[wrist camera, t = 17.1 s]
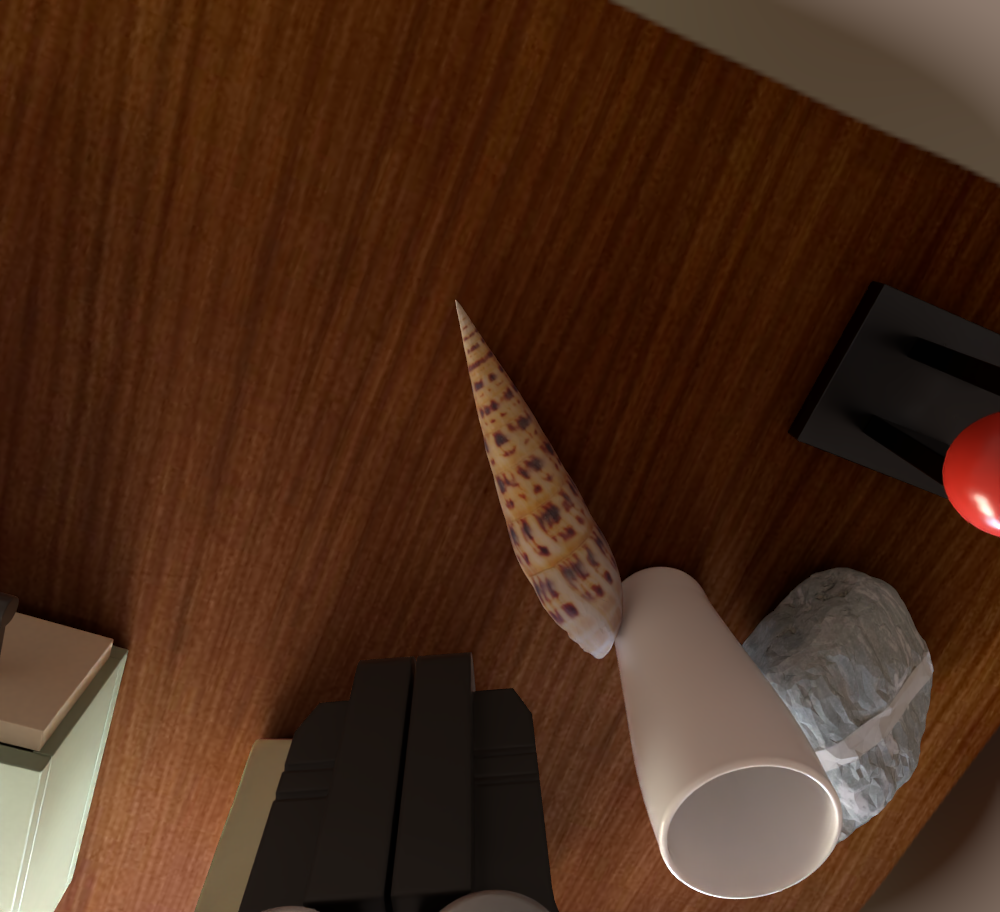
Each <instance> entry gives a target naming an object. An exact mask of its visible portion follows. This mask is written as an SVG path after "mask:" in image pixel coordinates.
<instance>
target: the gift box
mask: <svg viewBox="0 0 1000 912" xmlns="http://www.w3.org/2000/svg"><path fill="white" fill-rule="evenodd" d="M291 742H292V739H258V740H256V741H255V743H254V744H253V746H252V749H251V751H250V754H249V757H248V760H247V763H246V766H245V769H244V772H243V775H242V778H241V781H240V783H239V786H238V789H237V792H236V795H235V798H234V801H233V804H232V807H231V809H230V812H229V815H228V818H227V820H226V823H225V826H224V829H223V831H222V834H221V837H220V840H219V843H218V846H217V849H216V851H215V854H214V857H213V860H212V863H211V866H210V869H209V872H208V874H207V877H206V880H205V883H204V885H203V888H202V891H201V894H200V897H199V900H198V903H197V905H196V908H195V911H194V912H238V911H239V907H240V904H241V901H242V898H243V895H244V892H245V888H246V885H247V882H248V879H249V876H250V873H251V869H252V866H253V863H254V860H255V857H256V853H257V850H258V847H259V844H260V841H261V838H262V834H263V831H264V828H265V825H266V822H267V819H268V815H269V812H270V809H271V806H272V803H273V800H275V799H276V790H277V787H278V784H279V780H280V777H281V774H282V772H284V769H285V766H284V765H285V761H286V758H287V755H288V752H289V749H290V745H291Z"/></svg>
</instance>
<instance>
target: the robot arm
mask: <svg viewBox="0 0 1000 912" xmlns="http://www.w3.org/2000/svg"><path fill="white" fill-rule="evenodd" d="M284 766H285V769H284V772H282V774H281V777H280V780H279V784H278V787H277V790H276V799H275V800H273V803H272V806H271V809H270V812H269V815H268V819H267V822H266V825H265V828H264V831H263V834H262V838H261V841H260V844H259V847H258V850H257V853H256V857H255V860H254V863H253V866H252V869H251V873H250V876H249V879H248V882H247V885H246V888H245V892H244V895H243V898H242V901H241V904H240V907H239V911H238V912H559V911H558V908H557V906H556V903H555V900H554V896H553V891H552V884H551V875H550V866H549V858H548V849H547V840H546V831H545V823H544V814H543V805H542V797H541V788H540V780H539V770H538V762H537V753H536V744H535V735H534V727H533V718H532V713H531V712H530V711H529V709H528V708H527V706H526V705H525V704H524V702H523V701H522V700H521V698H520V697H519V696H518V694H517V693H516V692H515V690H514V689H513V688H509V689H496V690H483V691H476V689H475V678H474V667H473V658H472V652H466V653H453V654H440V655H426V656H418V657H417V662H416V659H415V657H414V656H410V657H397V658H384V659H370V660H360V661H359V662H358V665H357V668H356V673H355V677H354V681H353V686H352V690H351V694H350V699H349V700H348V701H335V702H322V703H319V704H318V705H317V706H316V707H315V709H314V710H313V711H312V712H311V713H310V715H309V716H308V717H307V718H306V719H305V720H304V722H303V723H302V724H301V725H300V726H299V727H298V729H297V730H296V731H295V733H294V736H293V739H292V742H291V745H290V749H289V752H288V755H287V758H286V761H285V765H284Z"/></svg>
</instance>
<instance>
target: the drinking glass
mask: <svg viewBox="0 0 1000 912" xmlns="http://www.w3.org/2000/svg"><path fill="white" fill-rule="evenodd" d="M621 584H622V590H623V616H622V622H621V626H620V629H619V632H618V635H617V637H616V639H615V641H614V644H615V649H616V655H617V661H618V666H619V672H620V678H621V684H622V690H623V697H624V703H625V709H626V715H627V722H628V728H629V734H630V740H631V746H632V752H633V758H634V763H635V768H636V772H637V776H638V781H639V784H640V788H641V792H642V796H643V799H644V803H645V806H646V810H647V813H648V816H649V819H650V822H651V825H652V828H653V831H654V834H655V837H656V840H657V843H658V846H659V849H660V852H661V855H662V857H663V860H664V862H665V863H666V865H667V867H668V868H669V870H670V871H671V872H672V873H673V874H674V875H675V876H676V877H677V878H678V879H679V880H680V881H681V882H682V883H684V884H685V885H687V886H689V887H690V888H692V889H694V890H696V891H699V892H701V893H704V894H707V895H710V896H715V897H720V898H729V899H746V898H755V897H761V896H765V895H769V894H773V893H776V892H779V891H781V890H784V889H786V888H789V887H791V886H793V885H795V884H797V883H798V882H800V881H802V880H803V879H805V878H806V877H808V876H809V875H810V874H812V873H813V872H814V871H815V870H816V869H818V868H819V867H820V866H821V865H822V864H823V863H824V861H825V860H826V859H827V858H828V856H829V855H830V854H831V852H832V851H833V849H834V847H835V845H836V843H837V841H838V839H839V836H840V833H841V829H842V821H843V813H842V806H841V803H840V799H839V797H838V795H837V792H836V791H835V789H834V787H833V785H832V783H831V781H830V779H829V777H828V775H827V773H826V771H825V769H824V767H823V766H822V764H821V762H820V760H819V758H818V756H817V754H816V753H815V751H814V749H813V747H812V745H811V744H810V742H809V740H808V739H807V737H806V735H805V734H804V732H803V730H802V729H801V727H800V726H799V724H798V722H797V721H796V719H795V718H794V716H793V715H792V713H791V711H790V710H789V709H788V707H787V706H786V704H785V703H784V701H783V700H782V699H781V697H780V696H779V695H778V693H777V692H776V690H775V689H774V688H773V686H772V685H771V684H770V682H769V681H768V680H767V678H766V677H765V676H764V674H763V673H762V672H761V670H760V669H759V668H758V666H757V665H756V664H755V663H754V661H753V660H752V659H751V657H750V656H749V655H748V653H747V652H746V651H745V649H744V648H743V647H742V645H741V644H740V643H739V641H738V640H737V639H736V637H735V636H734V635H733V633H732V632H731V630H730V629H729V628H728V626H727V625H726V624H725V622H724V621H723V620H722V618H721V617H720V616H719V614H718V613H717V611H716V610H715V609H714V607H713V606H712V604H711V603H710V601H709V599H708V597H707V596H706V594H705V592H704V591H703V589H702V587H701V586H700V585H699V583H698V582H697V581H696V580H695V579H694V578H692V577H691V576H690V575H688V574H687V573H685V572H683V571H681V570H678V569H675V568H670V567H651V568H647V569H643V570H640V571H638V572H636V573H634V574H632V575H631V576H629V577H628V578H626V579H625V580H624V581H623V582H622V583H621Z"/></svg>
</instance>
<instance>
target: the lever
mask: <svg viewBox="0 0 1000 912" xmlns="http://www.w3.org/2000/svg"><path fill="white" fill-rule="evenodd" d="M942 476H943V484H944V489H945V492H946V494H947V497H948V499H949V501H950V502H951V504H952V506H953V507H954V508H955V510H956V511H957V512H958V513H959V514H960V516H962V517H963V518H964V519H965V520H966V521H967V522H969V523H970V524H972V525H973V526H975V527H976V528H978V529H980V530H982V531H984V532H986V533H989V534H992V535H994V536H997V537H1000V411H999V412H996V413H992V414H989V415H986V416H984V417H982V418H980V419H978V420H976V421H974V422H973V423H971V424H970V425H968V426H967V427H966V428H964V429H963V430H962V431H961V432H960V433H959V434H958V435H957V436H956V438H955V439H954V440H953V442H952V443H951V445H950V447H949V448H948V450H947V453H946V455H945V458H944V463H943V469H942Z"/></svg>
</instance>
